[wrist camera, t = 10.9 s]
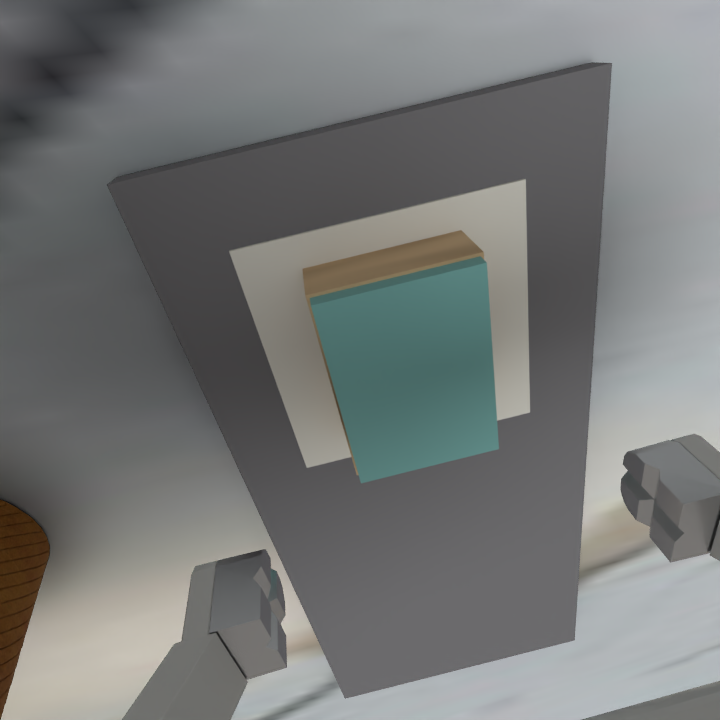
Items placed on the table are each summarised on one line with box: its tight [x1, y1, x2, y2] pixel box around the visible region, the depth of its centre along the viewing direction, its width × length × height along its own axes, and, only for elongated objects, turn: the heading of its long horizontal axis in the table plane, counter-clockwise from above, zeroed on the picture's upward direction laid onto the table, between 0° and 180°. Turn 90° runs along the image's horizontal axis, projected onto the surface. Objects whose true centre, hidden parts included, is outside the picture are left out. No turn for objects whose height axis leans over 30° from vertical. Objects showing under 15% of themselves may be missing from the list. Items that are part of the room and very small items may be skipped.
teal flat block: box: [302, 230, 499, 483], centre depth 16 cm, size 7×5×2 cm
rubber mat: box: [107, 63, 612, 698], centre depth 22 cm, size 14×30×1 cm, turn 12°
